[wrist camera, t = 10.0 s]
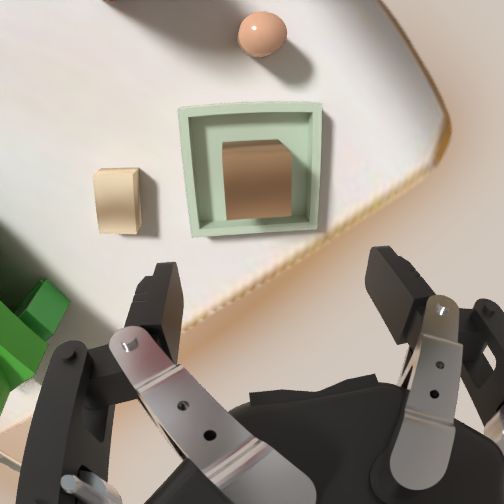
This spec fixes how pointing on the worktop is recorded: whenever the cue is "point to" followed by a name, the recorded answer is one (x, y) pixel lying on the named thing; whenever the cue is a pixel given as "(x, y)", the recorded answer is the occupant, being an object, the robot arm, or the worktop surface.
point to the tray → (243, 129)
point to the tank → (27, 335)
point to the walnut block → (257, 179)
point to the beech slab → (118, 200)
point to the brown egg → (261, 34)
